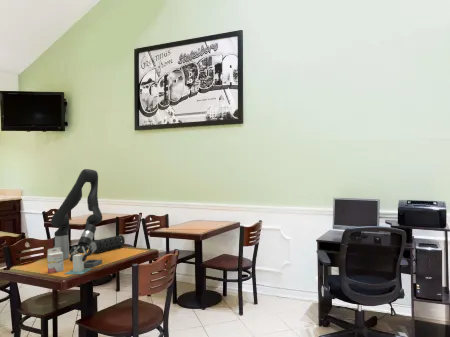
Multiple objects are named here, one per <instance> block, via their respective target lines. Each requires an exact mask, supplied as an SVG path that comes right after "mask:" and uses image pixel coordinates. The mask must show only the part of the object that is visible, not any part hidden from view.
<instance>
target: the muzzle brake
mask: <svg viewBox="0 0 450 337" xmlns="http://www.w3.org/2000/svg"><path fill="white" fill-rule="evenodd" d="M125 241H126V240H125V237H124V236H123V235H121V234H119V235H115V236H110V237H106V238H100V239H95V240H93V239H92V242H91V244H90V246H92V247H93V250H92V253H95V254H96V253H103V252H104V251H111V250H115V249H119V248H122V247H123V246H124V245H125Z"/></svg>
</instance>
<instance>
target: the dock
mask: <svg viewBox="0 0 450 337" xmlns="http://www.w3.org/2000/svg"><path fill="white" fill-rule="evenodd" d="M101 264H103V259H86V260H85V261H84V268H96V267H97V266H99V265H101Z"/></svg>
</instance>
